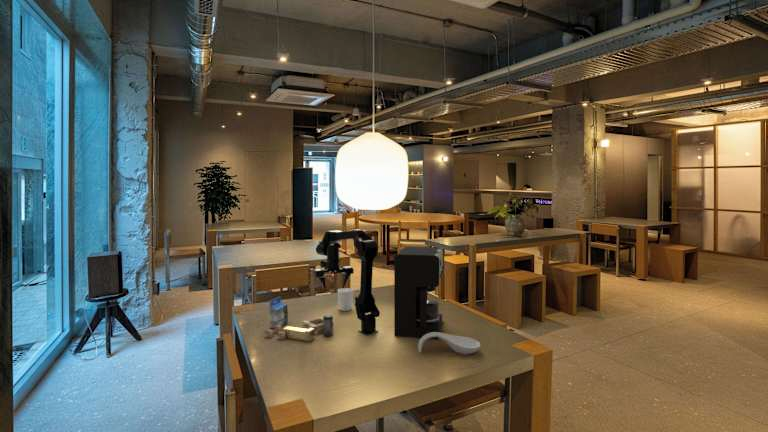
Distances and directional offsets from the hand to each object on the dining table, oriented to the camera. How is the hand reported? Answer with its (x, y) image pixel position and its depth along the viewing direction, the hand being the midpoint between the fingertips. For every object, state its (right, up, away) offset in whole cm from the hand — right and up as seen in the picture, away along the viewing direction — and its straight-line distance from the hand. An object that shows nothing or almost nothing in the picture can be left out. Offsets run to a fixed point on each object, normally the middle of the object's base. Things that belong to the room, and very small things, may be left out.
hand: (333, 289), depth 191 cm
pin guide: (-20, -15, -21) cm, 33 cm away
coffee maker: (+40, -15, -15) cm, 45 cm away
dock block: (-5, -15, -15) cm, 22 cm away
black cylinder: (0, -16, -22) cm, 27 cm away
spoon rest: (+49, -17, -38) cm, 64 cm away
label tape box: (-24, -15, -9) cm, 29 cm away
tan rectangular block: (-12, -15, -25) cm, 31 cm away
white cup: (+4, -13, +16) cm, 21 cm away
